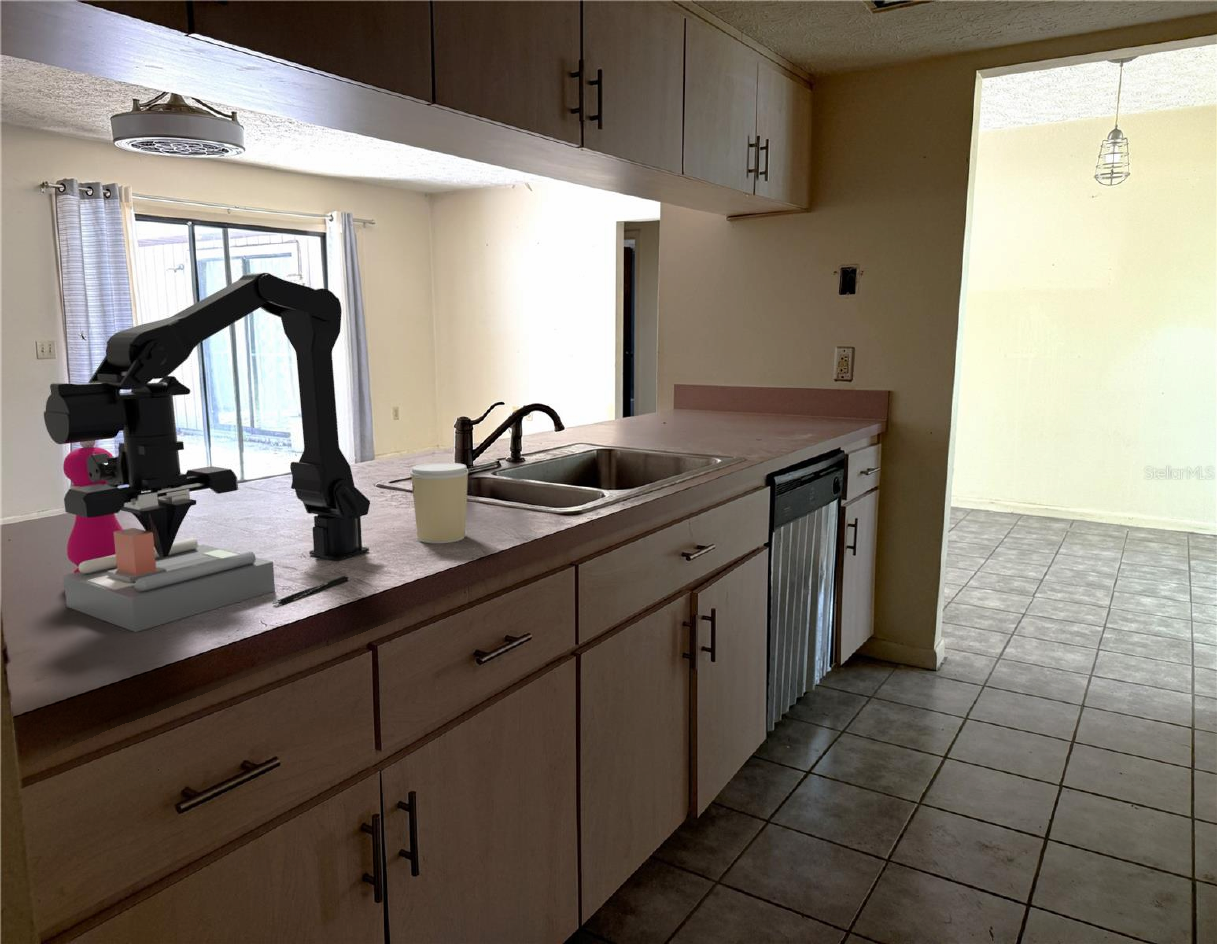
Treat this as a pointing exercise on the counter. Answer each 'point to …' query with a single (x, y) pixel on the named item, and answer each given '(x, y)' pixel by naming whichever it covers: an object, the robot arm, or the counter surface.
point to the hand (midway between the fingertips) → (163, 557)
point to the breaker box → (169, 586)
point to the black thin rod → (310, 591)
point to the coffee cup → (440, 501)
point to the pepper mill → (93, 532)
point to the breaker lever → (134, 555)
